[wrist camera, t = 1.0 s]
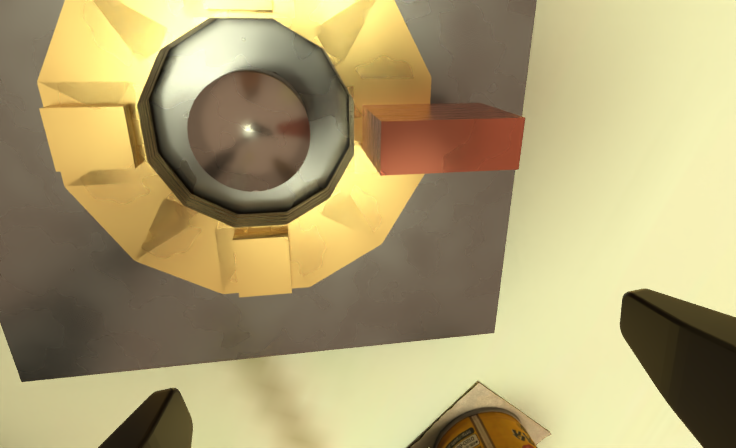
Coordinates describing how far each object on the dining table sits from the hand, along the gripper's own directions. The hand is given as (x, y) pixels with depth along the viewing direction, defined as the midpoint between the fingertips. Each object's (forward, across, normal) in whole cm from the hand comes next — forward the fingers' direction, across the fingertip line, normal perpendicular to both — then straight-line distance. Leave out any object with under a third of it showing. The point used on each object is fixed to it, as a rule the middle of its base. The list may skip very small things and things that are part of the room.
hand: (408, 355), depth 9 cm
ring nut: (+11, +2, -3) cm, 11 cm away
